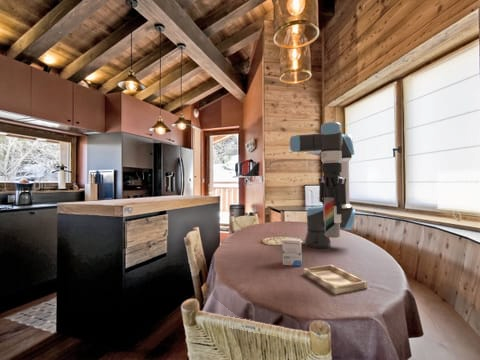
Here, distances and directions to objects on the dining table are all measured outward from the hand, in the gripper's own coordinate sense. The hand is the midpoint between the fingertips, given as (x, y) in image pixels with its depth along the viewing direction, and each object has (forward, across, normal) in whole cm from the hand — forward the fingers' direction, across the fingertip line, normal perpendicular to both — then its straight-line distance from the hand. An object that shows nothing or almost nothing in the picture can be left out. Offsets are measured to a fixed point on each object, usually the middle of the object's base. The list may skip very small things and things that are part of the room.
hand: (332, 221), depth 100 cm
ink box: (+24, -23, -5) cm, 33 cm away
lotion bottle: (+6, 0, 0) cm, 6 cm away
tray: (+24, 0, 0) cm, 24 cm away
